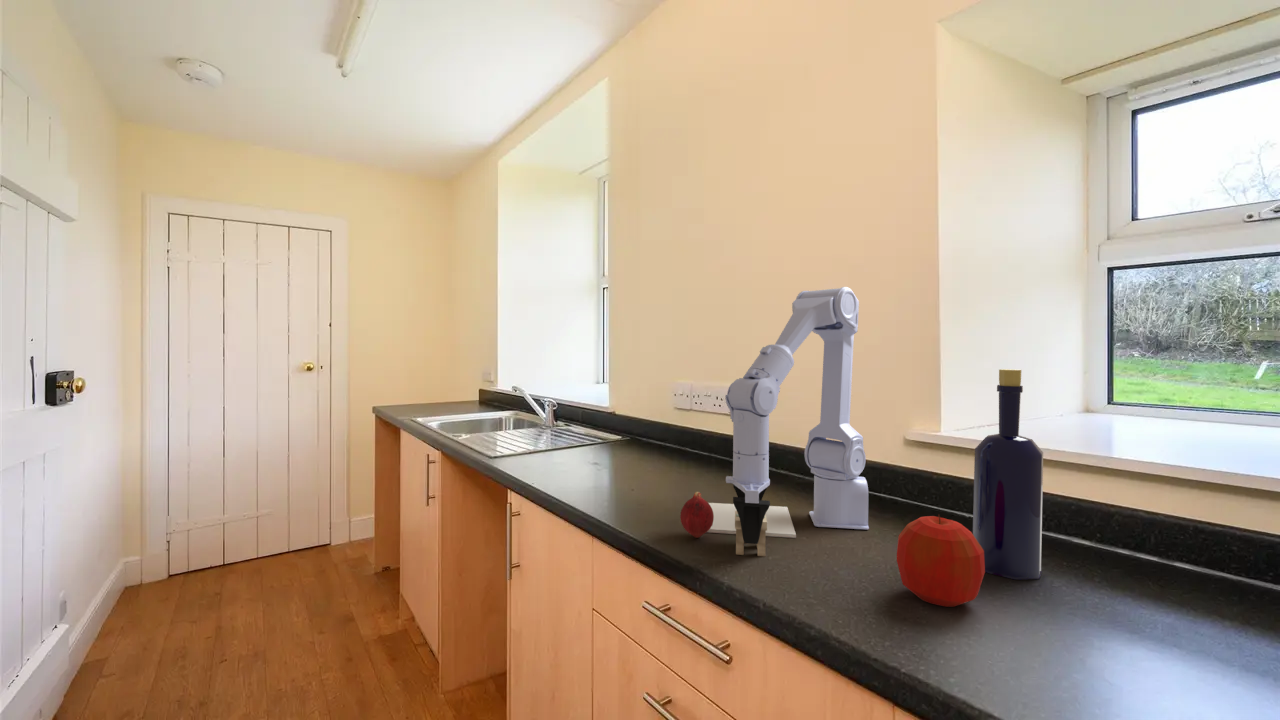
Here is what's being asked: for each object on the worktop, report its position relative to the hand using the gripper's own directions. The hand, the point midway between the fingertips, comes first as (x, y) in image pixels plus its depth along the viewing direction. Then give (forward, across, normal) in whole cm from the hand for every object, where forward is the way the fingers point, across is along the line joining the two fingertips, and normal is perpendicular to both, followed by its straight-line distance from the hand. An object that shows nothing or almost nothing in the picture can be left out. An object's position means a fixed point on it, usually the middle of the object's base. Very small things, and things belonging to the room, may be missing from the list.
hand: (750, 534), depth 88 cm
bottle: (+3, 0, +38) cm, 38 cm away
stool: (+3, 0, 0) cm, 3 cm away
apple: (+3, +13, +24) cm, 27 cm away
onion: (+3, -4, -9) cm, 10 cm away
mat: (+3, -15, 0) cm, 15 cm away
